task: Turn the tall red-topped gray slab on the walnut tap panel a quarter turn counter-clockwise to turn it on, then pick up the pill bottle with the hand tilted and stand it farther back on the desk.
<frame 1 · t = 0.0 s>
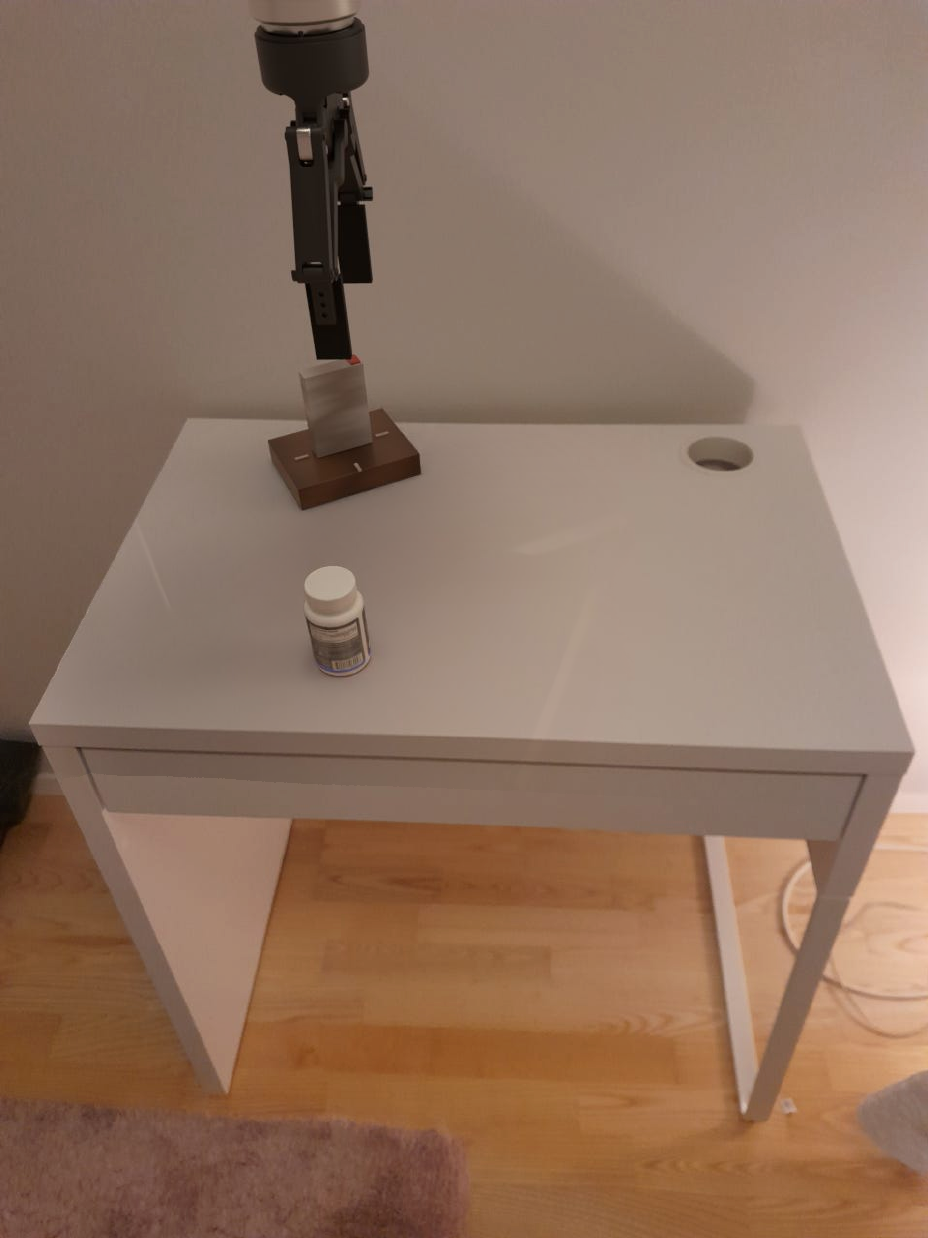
hand: (346, 317, 78), 20 cm above the table, tool pointing down, fingers open, 13 cm apart
red-topped gray slab: (336, 406, 93), point 7 cm above the table, hinge at 0.0°
tap panel: (345, 466, 98), on the table
pill bottle: (343, 658, 78), on the table
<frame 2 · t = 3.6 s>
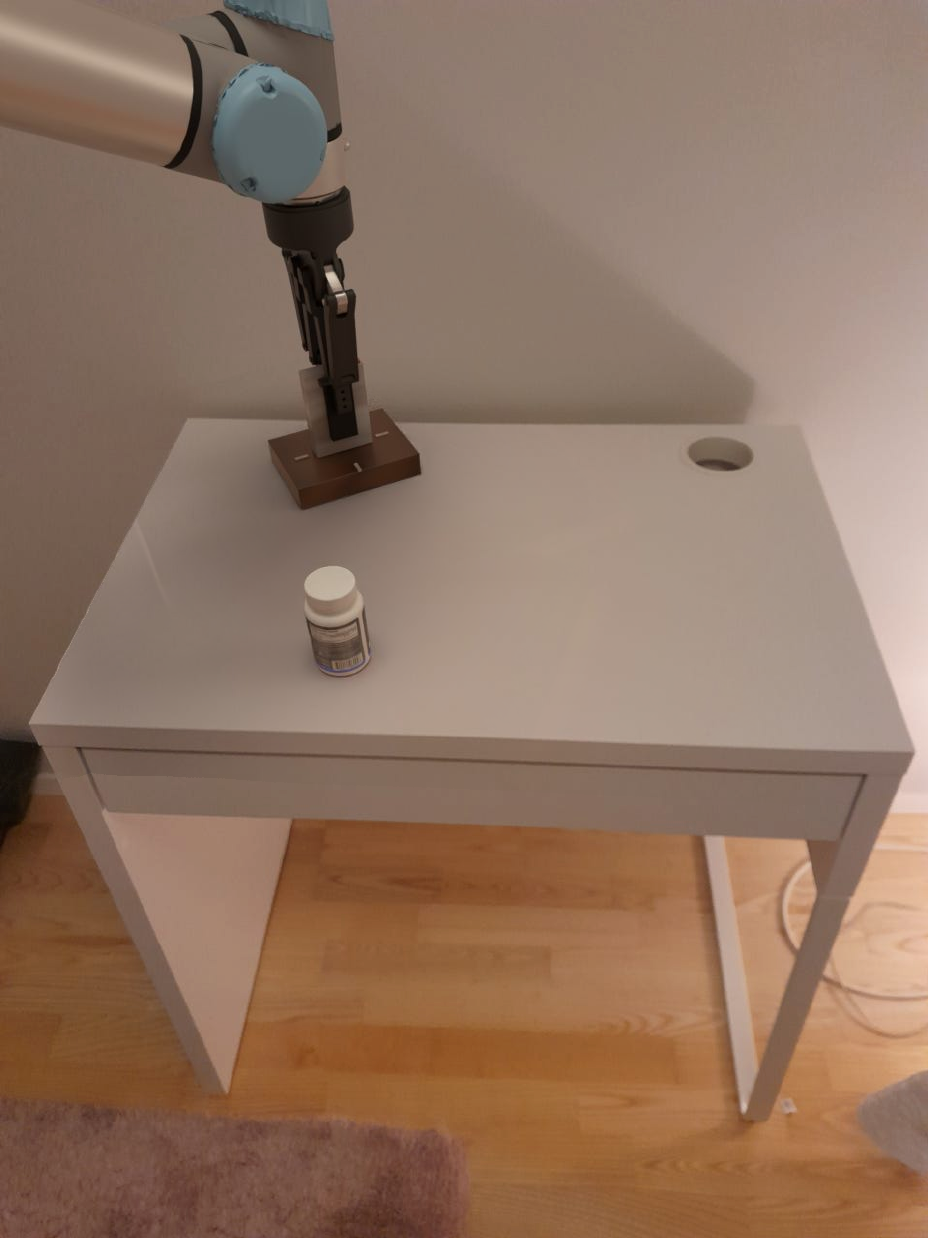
hand: (340, 429, 95), 4 cm above the table, tool pointing down, fingers closed on red-topped gray slab, 2 cm apart
red-topped gray slab: (336, 406, 93), point 7 cm above the table, hinge at -0.1°, touching gripper
everything else where it was.
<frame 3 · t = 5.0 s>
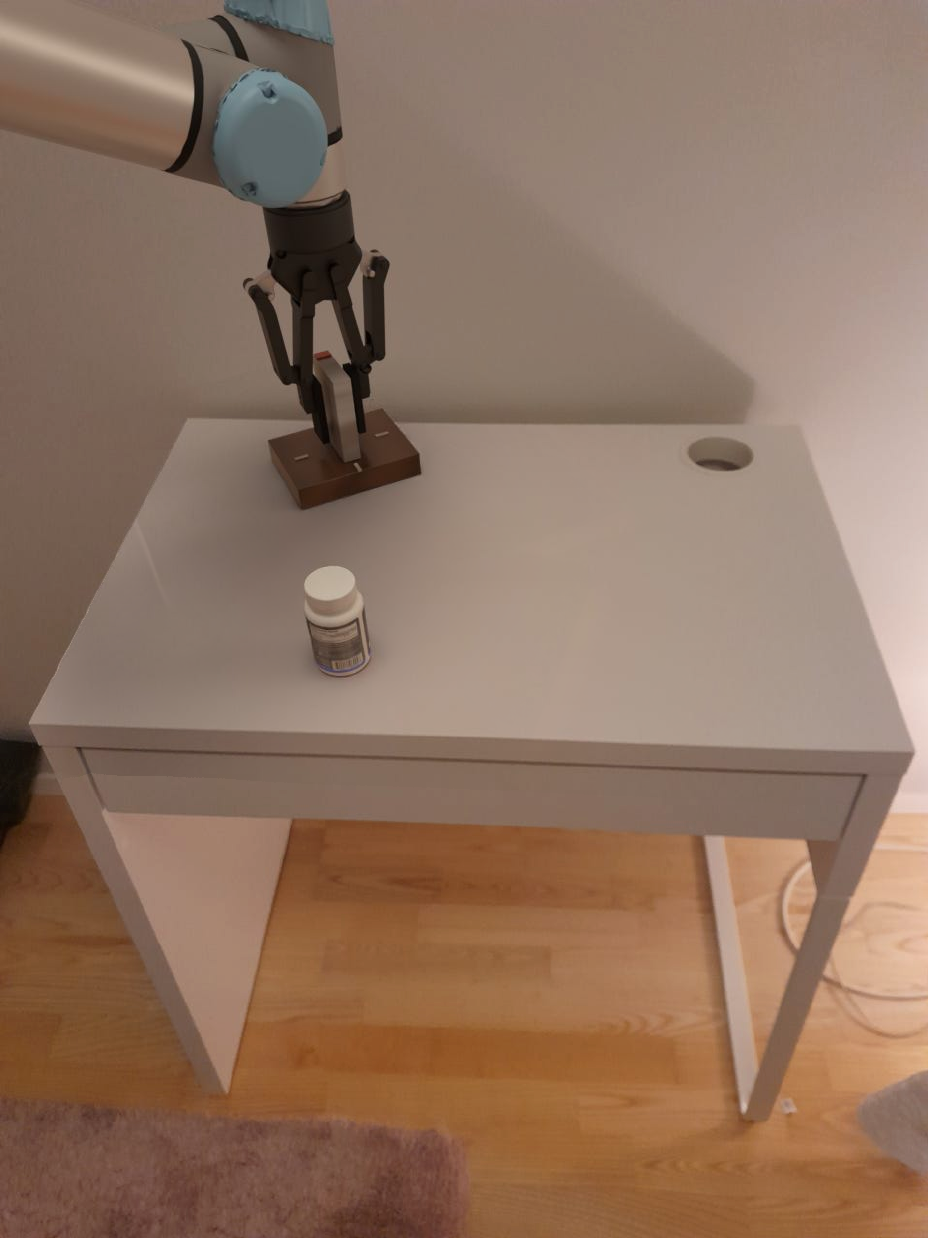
hand: (340, 431, 95), 4 cm above the table, tool pointing down, fingers open, 3 cm apart
red-topped gray slab: (336, 406, 93), point 7 cm above the table, hinge at 89.9°
everything else where it was.
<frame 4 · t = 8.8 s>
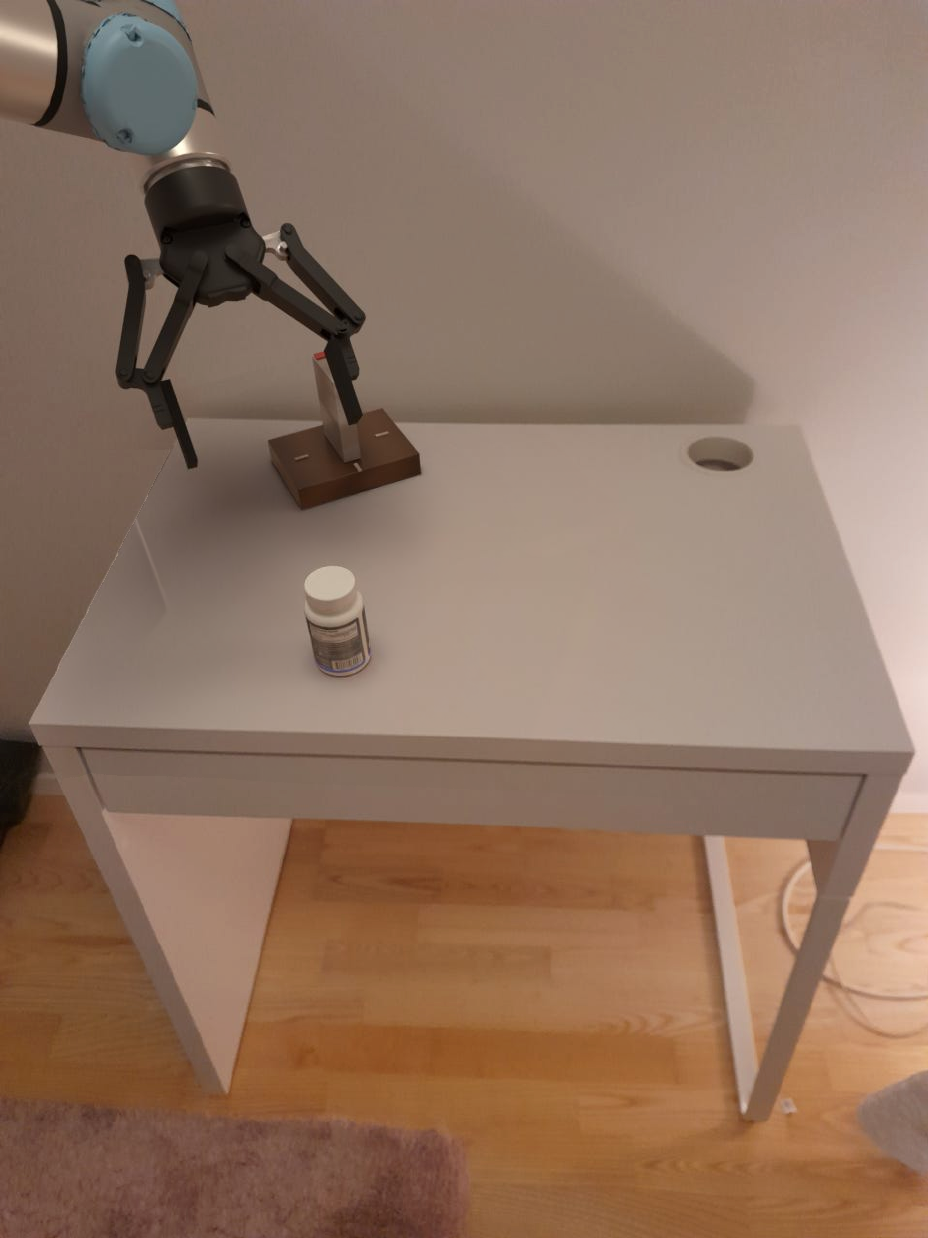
hand: (276, 442, 75), 15 cm above the table, tool tilted 45°, fingers open, 13 cm apart
nothing on the table moved.
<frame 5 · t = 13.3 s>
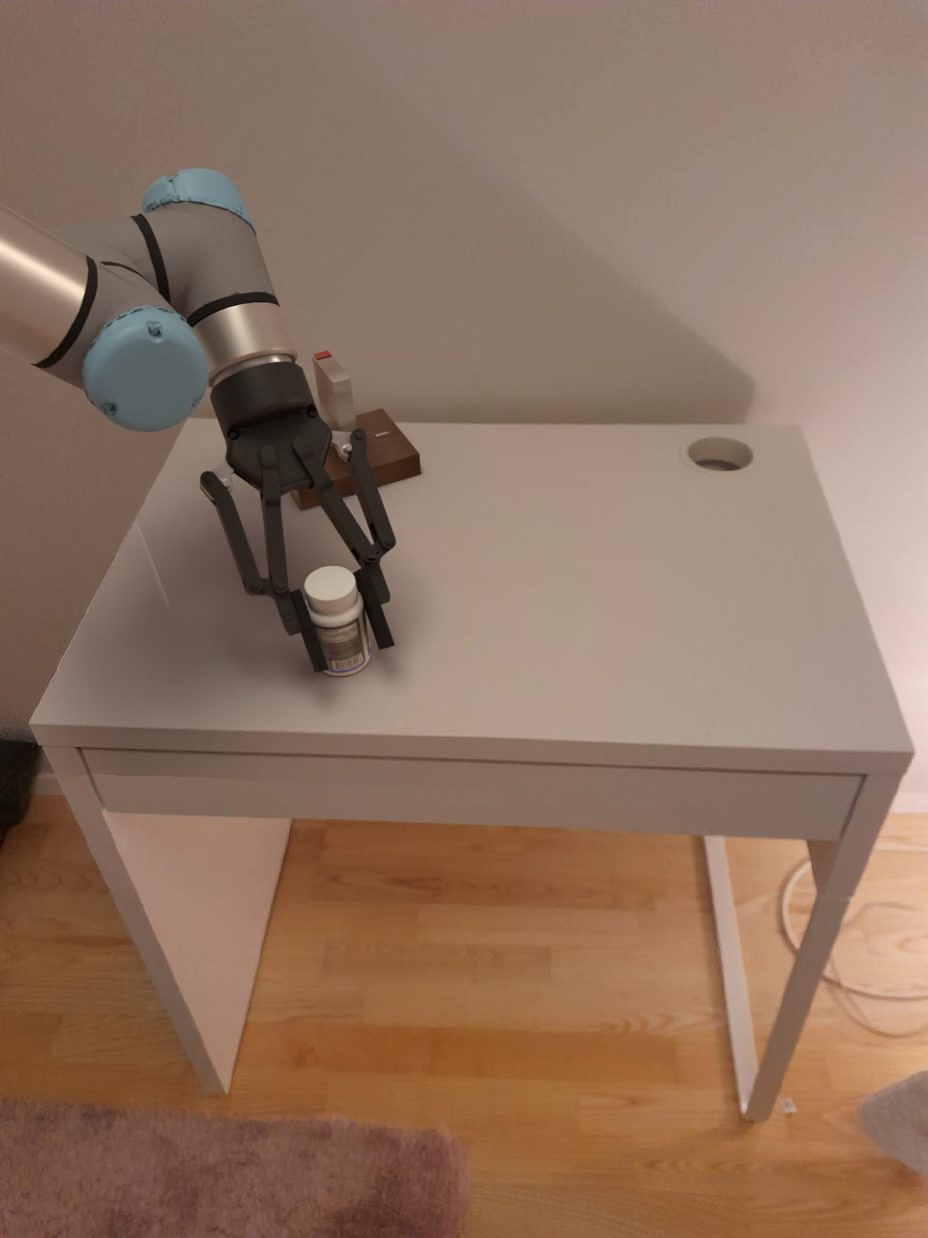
hand: (354, 658, 74), 3 cm above the table, tool tilted 45°, fingers closed on pill bottle, 5 cm apart
pill bottle: (343, 658, 78), on the table, touching gripper
everything else where it was.
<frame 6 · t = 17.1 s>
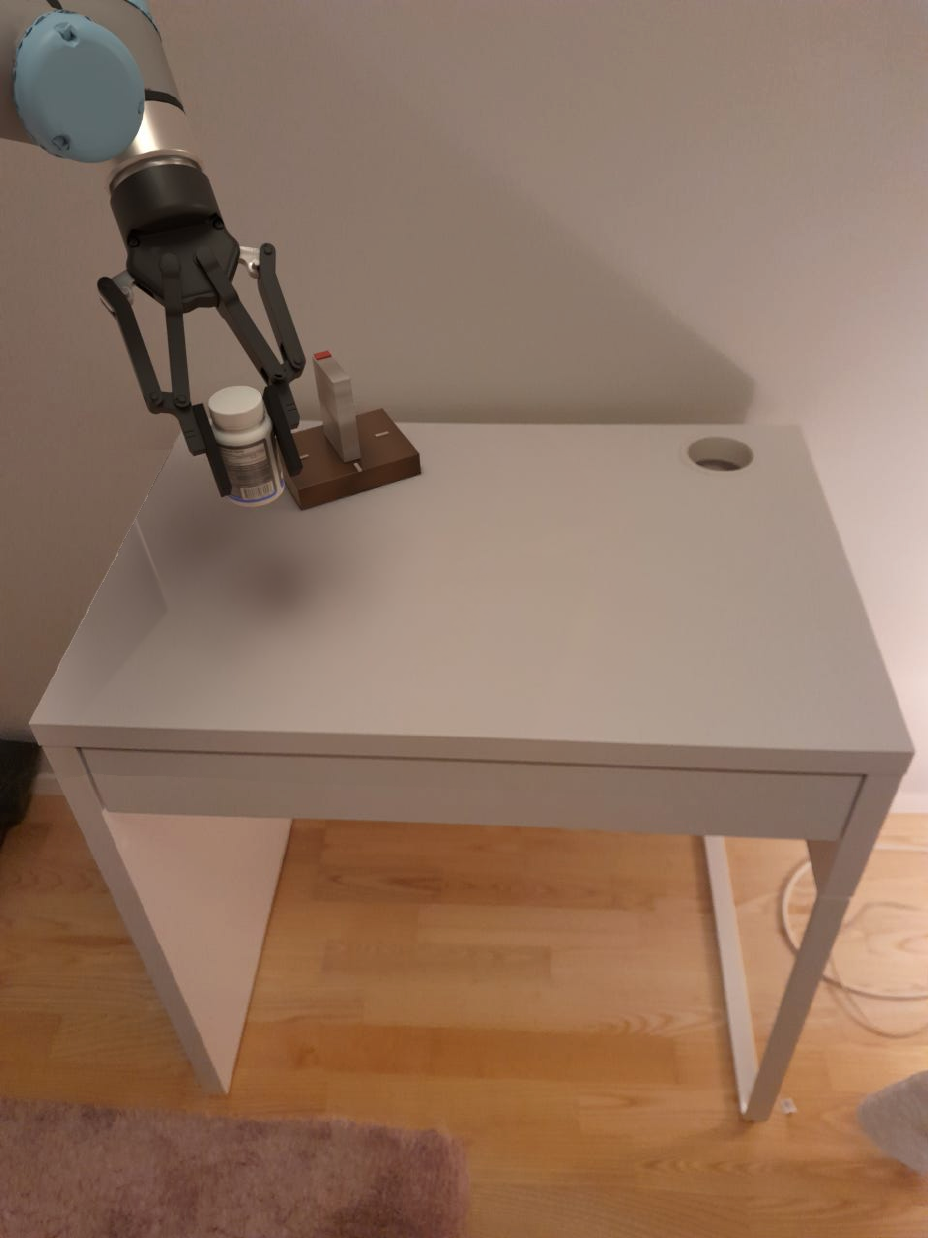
hand: (261, 481, 71), 15 cm above the table, tool tilted 45°, fingers closed on pill bottle, 5 cm apart
pill bottle: (256, 493, 76), point 12 cm above the table, touching gripper
everything else where it was.
when the fingers open (3 cm above the table, at t = 20.9 s): pill bottle stays where it is, on the table.
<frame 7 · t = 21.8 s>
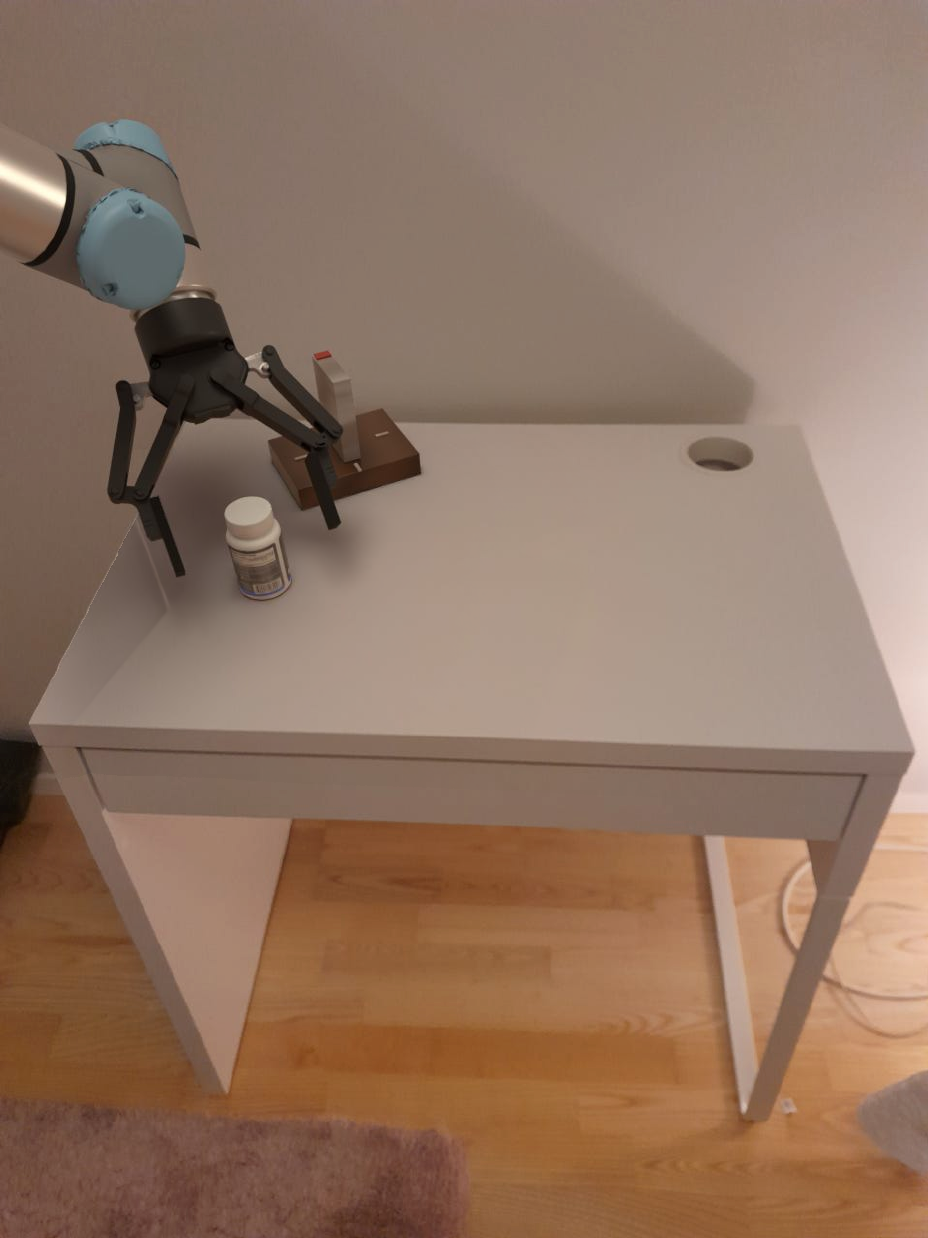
hand: (259, 550, 80), 6 cm above the table, tool tilted 45°, fingers open, 13 cm apart
pill bottle: (266, 585, 85), on the table
everything else where it was.
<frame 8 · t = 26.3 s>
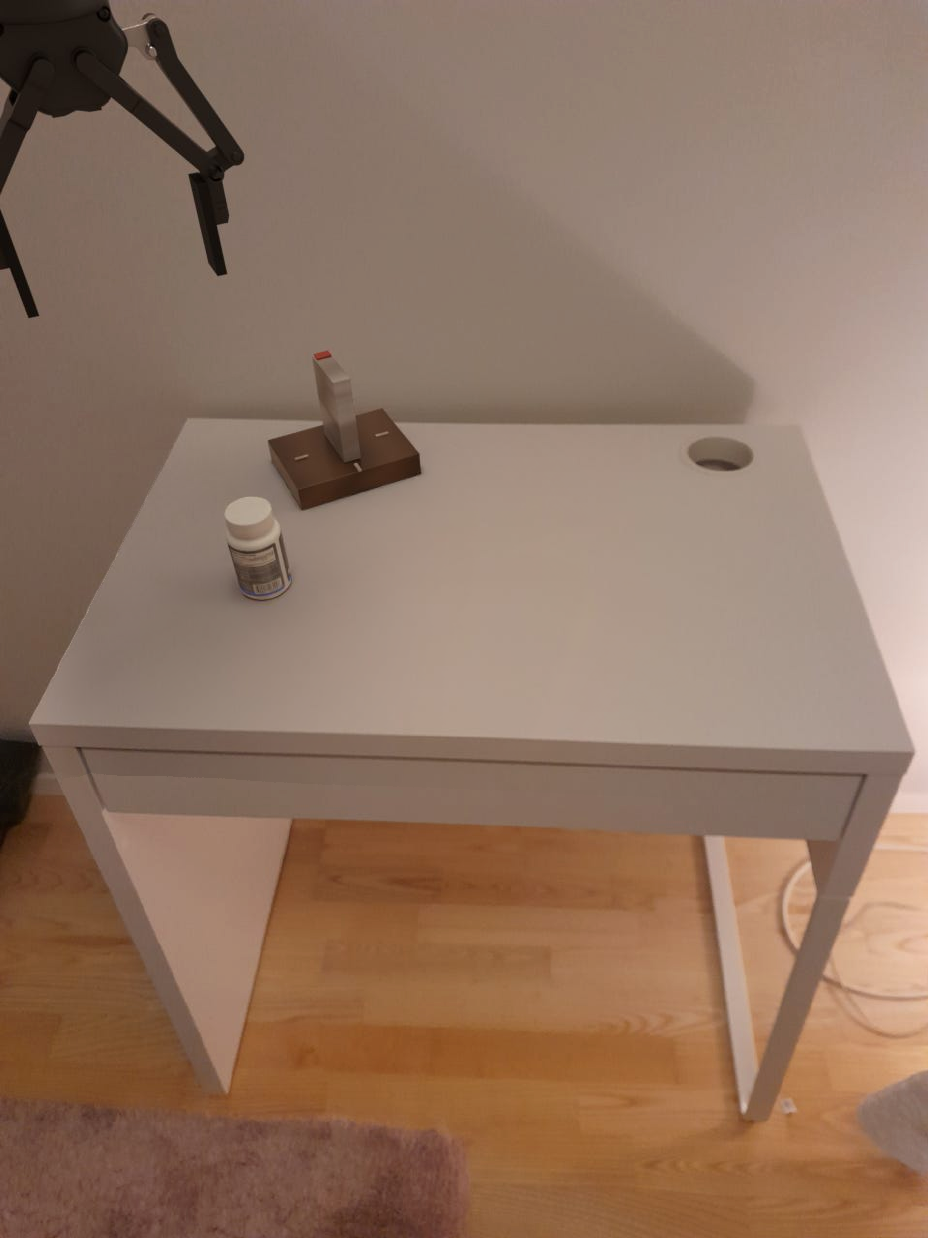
hand: (127, 289, 69), 27 cm above the table, tool pointing down, fingers open, 13 cm apart
nothing on the table moved.
at the end: red-topped gray slab at +90° (first picture: +0°); pill bottle inside the target area (0.0 cm from its centre), on the table; pill bottle tilted 0° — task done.
